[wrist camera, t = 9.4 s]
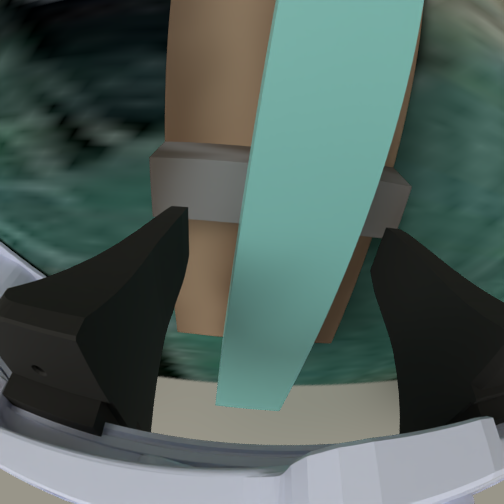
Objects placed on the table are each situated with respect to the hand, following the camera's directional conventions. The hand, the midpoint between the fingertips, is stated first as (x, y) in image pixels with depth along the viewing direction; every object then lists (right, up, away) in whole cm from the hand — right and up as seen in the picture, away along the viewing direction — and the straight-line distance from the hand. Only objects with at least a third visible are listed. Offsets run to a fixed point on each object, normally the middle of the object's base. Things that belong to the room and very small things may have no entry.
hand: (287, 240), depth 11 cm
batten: (0, +2, +3) cm, 3 cm away
